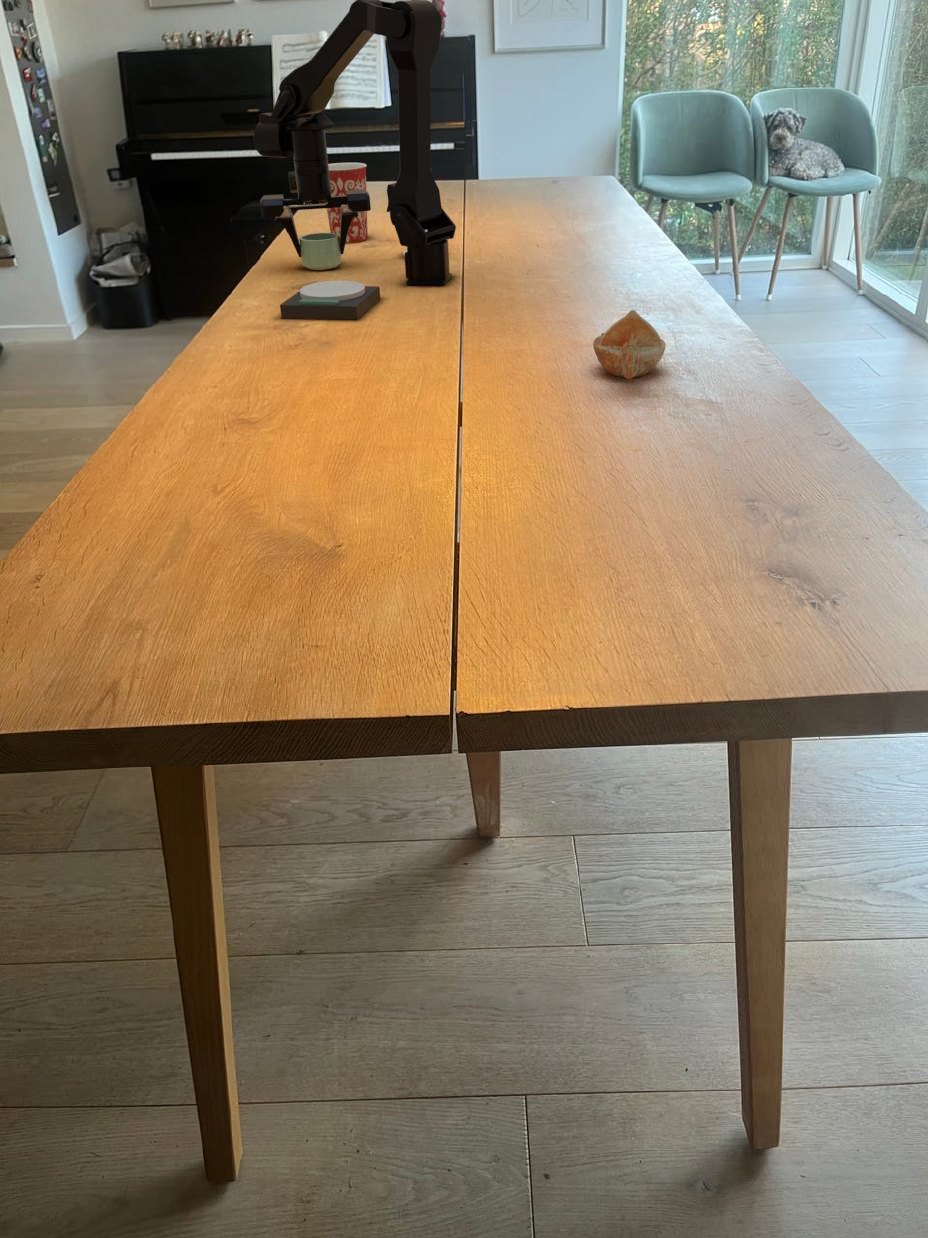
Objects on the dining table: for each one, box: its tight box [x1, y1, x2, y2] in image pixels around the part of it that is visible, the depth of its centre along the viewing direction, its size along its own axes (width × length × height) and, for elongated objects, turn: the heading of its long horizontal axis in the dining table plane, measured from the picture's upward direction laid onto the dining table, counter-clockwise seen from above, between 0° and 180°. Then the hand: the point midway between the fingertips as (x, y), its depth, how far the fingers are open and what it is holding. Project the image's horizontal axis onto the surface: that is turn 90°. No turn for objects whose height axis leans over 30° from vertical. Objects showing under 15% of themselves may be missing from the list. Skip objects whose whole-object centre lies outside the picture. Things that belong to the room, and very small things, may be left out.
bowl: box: [298, 232, 343, 271], centre depth 175 cm, size 7×7×5 cm
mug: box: [326, 162, 369, 244], centre depth 195 cm, size 13×9×14 cm
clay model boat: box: [592, 309, 666, 380], centre depth 119 cm, size 9×21×10 cm, turn 173°
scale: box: [279, 280, 381, 321], centre depth 151 cm, size 12×12×3 cm
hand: (321, 255), depth 175 cm, fingers closed on bowl, 7 cm apart
